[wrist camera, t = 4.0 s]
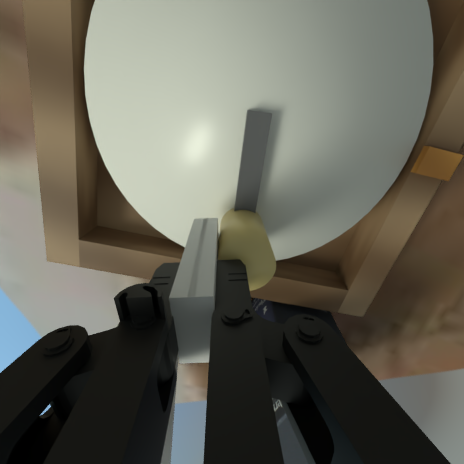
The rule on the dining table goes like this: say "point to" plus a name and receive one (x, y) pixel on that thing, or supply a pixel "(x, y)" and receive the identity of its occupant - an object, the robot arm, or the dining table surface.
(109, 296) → the dining table surface
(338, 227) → the dial
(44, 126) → the housing
